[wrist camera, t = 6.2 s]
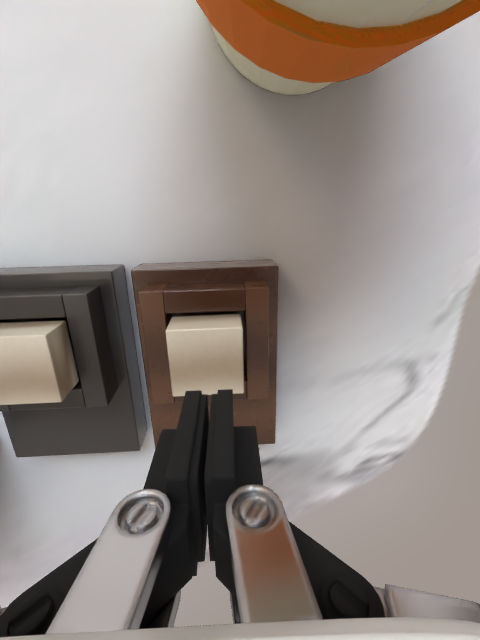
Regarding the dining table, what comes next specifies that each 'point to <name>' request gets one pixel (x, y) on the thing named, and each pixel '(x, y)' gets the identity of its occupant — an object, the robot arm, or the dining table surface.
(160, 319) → the key block
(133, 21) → the dining table surface
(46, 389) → the key
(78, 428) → the key block
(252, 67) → the reusable coffee cup
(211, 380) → the key
